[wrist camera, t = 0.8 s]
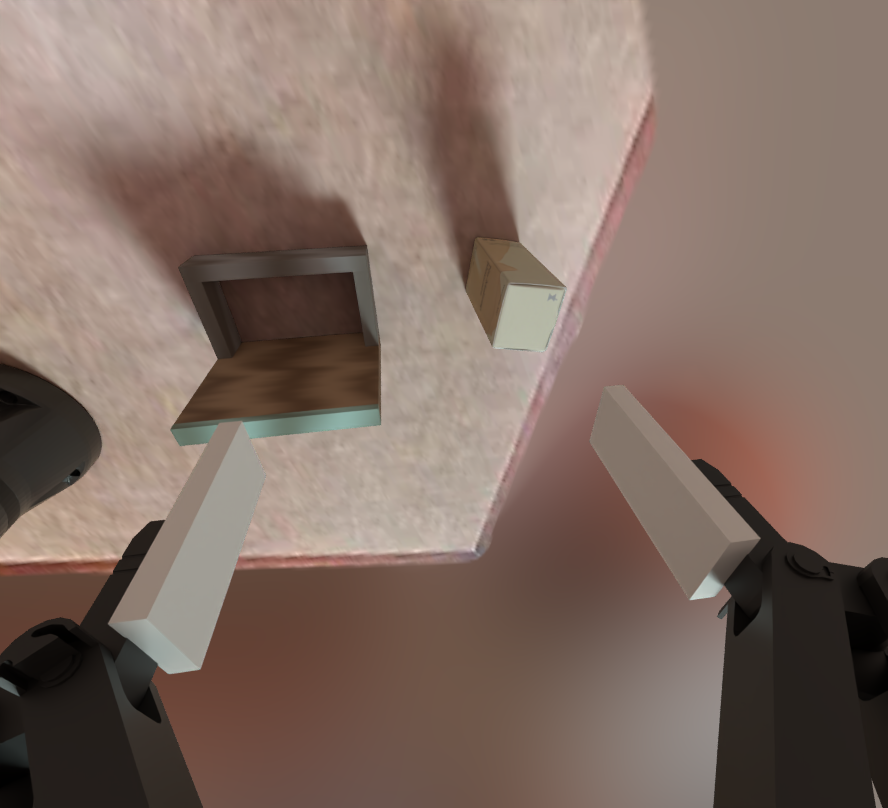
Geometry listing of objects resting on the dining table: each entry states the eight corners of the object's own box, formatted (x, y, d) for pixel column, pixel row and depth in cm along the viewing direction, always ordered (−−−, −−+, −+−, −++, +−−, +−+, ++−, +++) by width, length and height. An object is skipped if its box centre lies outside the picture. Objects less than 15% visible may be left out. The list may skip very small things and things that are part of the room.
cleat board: (234, 357, 37) (179, 445, 27) (193, 255, 31) (105, 320, 21) (380, 344, 38) (381, 424, 28) (366, 245, 33) (361, 301, 22)
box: (474, 235, 33) (509, 277, 24) (521, 241, 34) (571, 283, 25) (464, 294, 36) (491, 350, 27) (507, 298, 37) (547, 354, 28)
